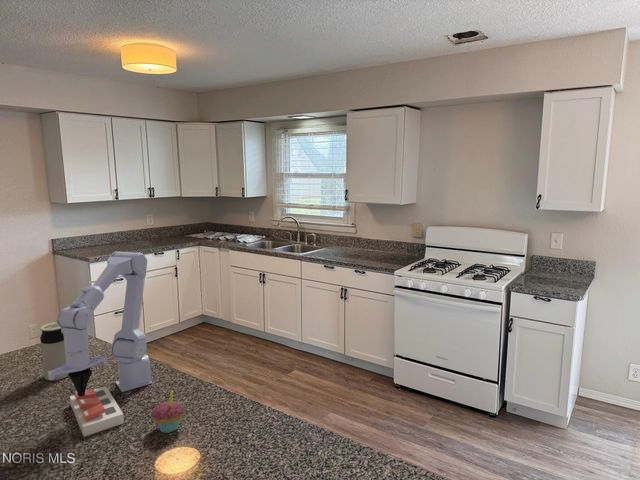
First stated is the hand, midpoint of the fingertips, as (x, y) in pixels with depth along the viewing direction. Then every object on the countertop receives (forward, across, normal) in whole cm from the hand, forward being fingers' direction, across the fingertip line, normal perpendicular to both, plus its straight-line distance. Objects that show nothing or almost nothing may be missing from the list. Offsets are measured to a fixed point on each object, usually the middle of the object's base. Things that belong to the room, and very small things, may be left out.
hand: (81, 394), depth 121 cm
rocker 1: (+3, -2, -6) cm, 7 cm away
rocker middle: (+3, -2, 0) cm, 4 cm away
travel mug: (+7, -2, -34) cm, 35 cm away
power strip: (+7, -4, -5) cm, 9 cm away
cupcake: (+7, -15, +22) cm, 27 cm away
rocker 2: (+3, -1, +6) cm, 7 cm away
